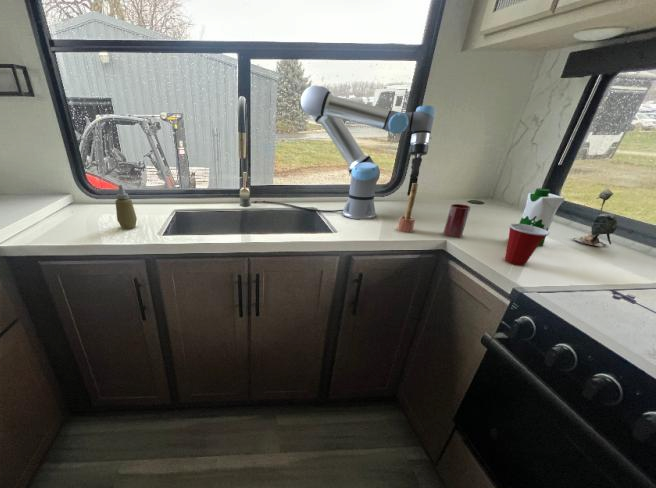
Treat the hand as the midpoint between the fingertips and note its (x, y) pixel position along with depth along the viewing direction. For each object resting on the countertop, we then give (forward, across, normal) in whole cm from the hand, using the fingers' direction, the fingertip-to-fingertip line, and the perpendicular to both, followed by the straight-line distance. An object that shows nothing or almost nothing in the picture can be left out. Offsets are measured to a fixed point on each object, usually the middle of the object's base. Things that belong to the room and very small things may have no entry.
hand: (411, 194), depth 156 cm
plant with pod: (+17, -10, -66) cm, 68 cm away
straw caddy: (+16, -19, +1) cm, 25 cm away
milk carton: (+18, -17, -43) cm, 50 cm away
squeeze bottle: (+23, -57, +114) cm, 130 cm away
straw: (+16, -19, +1) cm, 25 cm away
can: (+17, -18, -17) cm, 31 cm away
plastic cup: (+24, -40, -34) cm, 58 cm away
